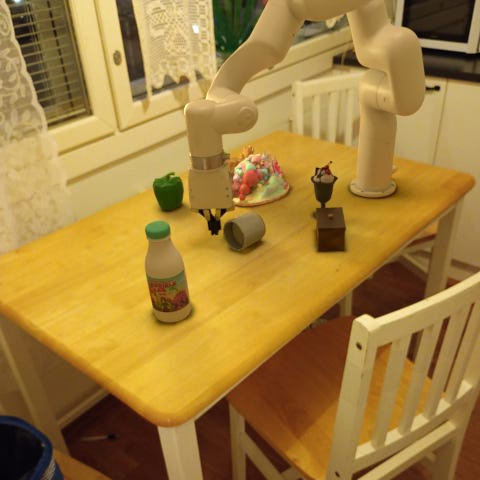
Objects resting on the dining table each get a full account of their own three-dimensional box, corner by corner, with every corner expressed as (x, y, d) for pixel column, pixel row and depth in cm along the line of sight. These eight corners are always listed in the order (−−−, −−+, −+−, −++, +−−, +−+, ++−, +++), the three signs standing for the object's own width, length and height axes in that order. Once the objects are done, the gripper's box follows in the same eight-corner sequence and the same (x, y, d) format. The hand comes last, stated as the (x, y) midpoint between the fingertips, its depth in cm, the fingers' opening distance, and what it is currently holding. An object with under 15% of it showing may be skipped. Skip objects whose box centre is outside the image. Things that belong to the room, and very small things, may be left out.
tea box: (317, 251, 124) (318, 225, 120) (315, 230, 132) (316, 205, 128) (344, 251, 123) (346, 225, 119) (340, 229, 131) (342, 204, 127)
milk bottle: (155, 303, 112) (137, 218, 99) (191, 299, 112) (178, 214, 100) (153, 325, 106) (134, 238, 93) (191, 321, 106) (177, 233, 94)
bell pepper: (150, 211, 147) (144, 177, 141) (164, 198, 153) (159, 165, 147) (177, 214, 144) (171, 180, 138) (190, 201, 150) (185, 168, 144)
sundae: (335, 221, 135) (337, 164, 126) (309, 220, 136) (309, 164, 127) (336, 209, 140) (339, 154, 131) (311, 208, 141) (312, 154, 132)
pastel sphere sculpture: (193, 188, 157) (190, 157, 152) (251, 164, 169) (249, 135, 163) (251, 212, 142) (249, 180, 136) (309, 184, 154) (309, 153, 148)
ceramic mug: (268, 241, 129) (267, 212, 124) (245, 255, 125) (243, 226, 120) (238, 229, 135) (235, 202, 131) (215, 242, 131) (211, 214, 126)
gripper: (241, 152, 119) (246, 224, 131) (177, 154, 121) (187, 226, 132) (239, 164, 113) (244, 239, 125) (171, 167, 115) (182, 241, 126)
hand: (215, 232), depth 128 cm, fingers closed
